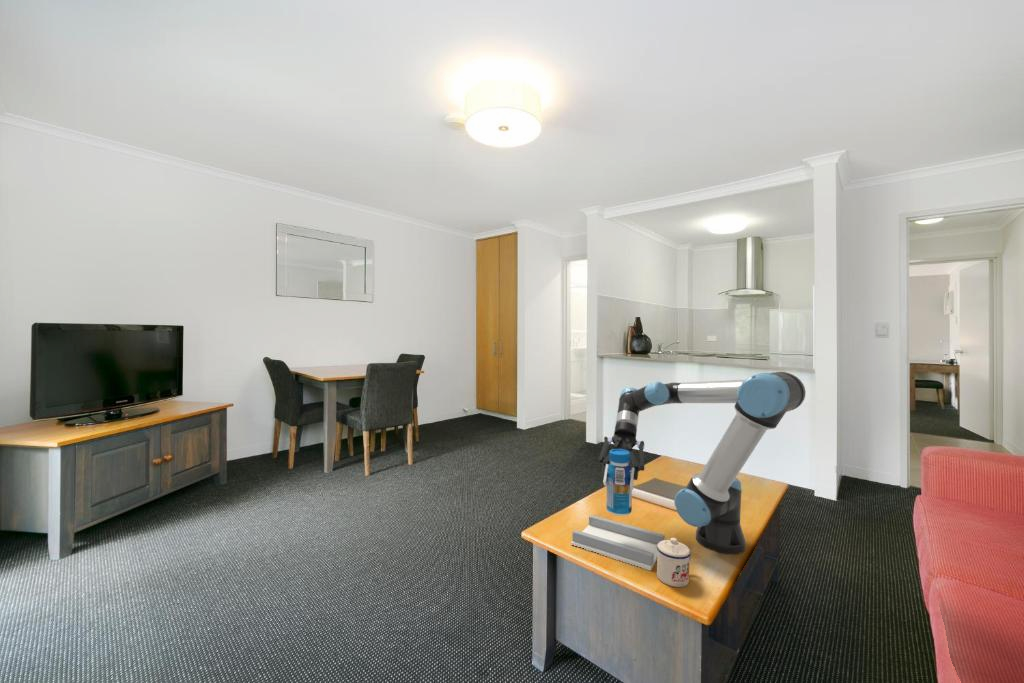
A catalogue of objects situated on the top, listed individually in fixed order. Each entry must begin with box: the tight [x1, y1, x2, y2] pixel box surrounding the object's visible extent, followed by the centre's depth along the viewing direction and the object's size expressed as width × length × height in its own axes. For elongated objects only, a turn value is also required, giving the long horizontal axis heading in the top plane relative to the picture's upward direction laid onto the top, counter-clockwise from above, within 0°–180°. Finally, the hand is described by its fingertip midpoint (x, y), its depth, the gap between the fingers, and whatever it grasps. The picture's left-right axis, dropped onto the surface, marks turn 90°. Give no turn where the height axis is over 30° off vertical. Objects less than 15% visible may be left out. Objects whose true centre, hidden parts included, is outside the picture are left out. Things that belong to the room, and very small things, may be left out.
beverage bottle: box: [606, 448, 633, 517], centre depth 139 cm, size 8×8×20 cm
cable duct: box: [570, 514, 666, 572], centre depth 139 cm, size 26×18×4 cm
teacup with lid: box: [656, 537, 692, 588], centre depth 121 cm, size 12×9×12 cm
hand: (617, 486), depth 136 cm, fingers closed on beverage bottle, 8 cm apart
